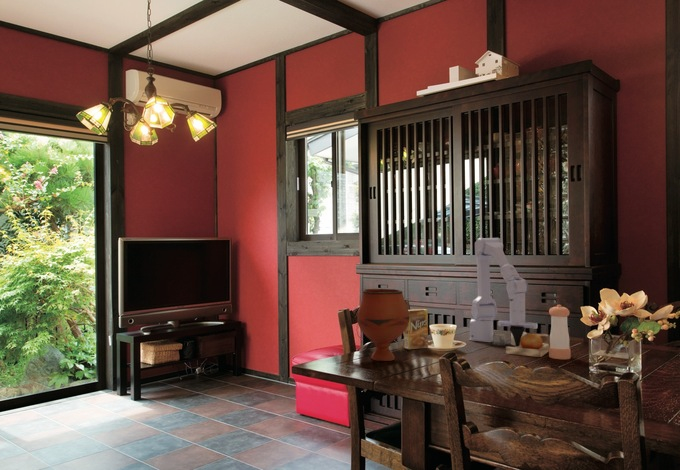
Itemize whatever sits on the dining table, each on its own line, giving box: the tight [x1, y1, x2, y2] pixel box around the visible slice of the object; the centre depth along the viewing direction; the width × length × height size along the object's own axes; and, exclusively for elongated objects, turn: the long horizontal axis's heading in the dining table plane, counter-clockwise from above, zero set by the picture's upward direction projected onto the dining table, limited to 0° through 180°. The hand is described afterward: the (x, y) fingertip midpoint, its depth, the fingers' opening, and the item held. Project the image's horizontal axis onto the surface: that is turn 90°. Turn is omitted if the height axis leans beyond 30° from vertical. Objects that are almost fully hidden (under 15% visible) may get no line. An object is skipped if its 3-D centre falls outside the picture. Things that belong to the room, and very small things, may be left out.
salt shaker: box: [548, 304, 572, 360], centre depth 199 cm, size 7×7×19 cm
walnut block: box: [536, 333, 550, 345], centre depth 217 cm, size 5×5×5 cm
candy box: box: [403, 308, 429, 350], centre depth 217 cm, size 9×4×15 cm, turn 113°
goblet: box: [356, 288, 409, 362], centre depth 198 cm, size 19×19×25 cm
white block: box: [510, 331, 528, 347], centre depth 223 cm, size 6×6×5 cm
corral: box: [505, 343, 550, 358], centre depth 208 cm, size 13×14×2 cm
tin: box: [492, 333, 506, 347], centre depth 223 cm, size 5×5×4 cm
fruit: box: [520, 333, 542, 350], centre depth 208 cm, size 8×8×8 cm
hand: (517, 345), depth 211 cm, fingers closed
